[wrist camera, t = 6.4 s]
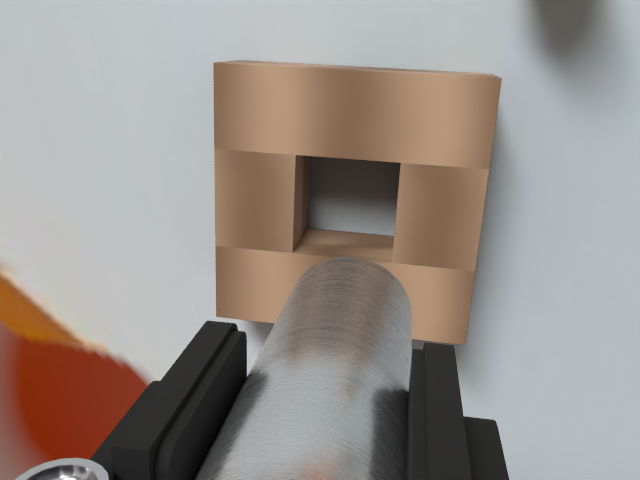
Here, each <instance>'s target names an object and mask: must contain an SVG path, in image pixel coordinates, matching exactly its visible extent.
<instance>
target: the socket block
mask: <svg viewBox="0 0 640 480" xmlns="http://www.w3.org/2000/svg"><path fill="white" fill-rule="evenodd" d="M501 80H502V78H499V77H497V76H494V75H492V74H484V73H465V72H446V71H428V70H409V69H391V68H372V67H353V66H335V65H316V64H298V63H279V62H261V61H242V60H239V61H228V62H217V63H214V145H215V236H216V317H223V318H232V319H241V320H250V321H258V322H267V323H275V322H276V320H277V318H278V316H279V314H280V312H281V310H282V308H283V306H284V304H285V302H286V301H287V299H288V297H289V295H290V293H291V291H292V289H293V287H294V285H295V284H296V282H297V280H298V279H299V278H300V277H301V275H302V274H304V273H305V272H306V271H307V270H308V269H309V268H311V267H312V266H314V265H315V264H317V263H319V262H322V261H324V260H327V259H331V258H335V257H343V256H346V257H358V258H363V259H367V260H370V261H372V262H375V263H377V264H379V265H380V266H382V267H384V268H385V269H387V270H388V271H389V272H391V273H392V274H393V275H394V276H395V277H396V278H397V279H398V281H399V282H400V283H401V284H402V286H403V288H404V289H405V291H406V293H407V295H408V298H409V301H410V304H411V310H412V339H416V340H425V341H434V342H442V343H451V344H460V345H465V341H466V333H467V326H468V319H469V312H470V304H471V297H472V290H473V283H474V276H475V268H476V261H477V254H478V247H479V239H480V232H481V225H482V218H483V211H484V203H485V196H486V189H487V182H488V174H489V167H490V160H491V153H492V145H493V138H494V131H495V124H496V117H497V109H498V102H499V95H500V88H501ZM311 156H317V157H330V158H343V159H357V160H370V161H383V162H397V163H401V166H400V177H399V188H398V200H397V211H396V222H395V233H394V236H387V235H376V234H365V233H354V232H343V231H332V230H321V229H310V228H308V206H309V181H310V157H311Z"/></svg>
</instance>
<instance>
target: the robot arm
mask: <svg viewBox="0 0 640 480" xmlns="http://www.w3.org/2000/svg"><path fill="white" fill-rule="evenodd" d="M246 378H247V339H246V333H245V332H242V331H238V329H237V325H236V324H235V323H225V322H215V321H207V322H205V324H204V325H203V326H202V328H201V329H200V330H199V332H198V333H197V334H196V335H195V337H194V338H193V339H192V341H191V342H190V343H189V345H188V346H187V347H186V348H185V350H184V351H183V352H182V354H181V355H180V356H179V358H178V359H177V360H176V361H175V363H174V364H173V365H172V367H171V368H170V369H169V371H168V372H167V373H166V374H165V376H164V377H163V378H162V380H161V381H153V382H152V383H151V384H150V385H148V387H147V388H146V389H145V390H144V392H143V393H142V394H141V396H140V397H139V398H138V399H137V401H136V402H135V403H134V404H133V405H132V407H131V408H130V409H129V411H128V412H127V413H126V415H125V416H124V417H123V418H122V419H121V421H120V422H119V423H118V424H117V426H116V427H115V428H114V430H113V431H112V432H111V433H110V435H109V436H108V437H107V438H106V440H105V441H104V442H103V443H102V445H101V446H100V447H99V448H98V450H97V451H96V452H95V453H94V455H93V456H92V457H91V458H90V460H86V459H80V458H67V459H59V460H55V461H50V462H46V463H44V464H41V465H39V466H37V467H34V468H32V469H30V470H28V471H27V472H25V473H24V474H22V475H20V476H19V477H17V478H16V479H15V480H195V478H196V476H197V474H198V472H199V470H200V468H201V466H202V464H203V462H204V460H205V458H206V456H207V454H208V452H209V450H210V449H211V447H212V445H213V443H214V441H215V439H216V437H217V435H218V433H219V431H220V429H221V427H222V425H223V423H224V421H225V419H226V417H227V415H228V413H229V412H230V410H231V408H232V406H233V404H234V402H235V400H236V398H237V396H238V394H239V392H240V390H241V388H242V386H243V384H244V382H245V380H246ZM407 480H509V477H508V472H507V468H506V463H505V459H504V454H503V450H502V445H501V440H500V436H499V431H498V427H497V424H496V421H494V420H489V419H481V418H472V417H464V416H463V410H462V402H461V395H460V387H459V380H458V372H457V365H456V357H455V349H454V346H452V345H442V344H433V343H424V348H423V350H417V349H413V350H412V359H411V369H410V380H409V391H408V439H407Z"/></svg>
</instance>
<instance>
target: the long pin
mask: <svg viewBox="0 0 640 480" xmlns="http://www.w3.org/2000/svg"><path fill="white" fill-rule="evenodd" d="M411 359H412V310H411V304H410V301H409V298H408V295H407V293H406V291H405V289H404V288H403V286H402V284H401V283H400V282H399V281H398V279H397V278H396V277H395V276H394V275H393V274H392V273H391V272H389V271H388V270H387V269H385V268H384V267H382V266H380V265H379V264H377V263H375V262H372V261H370V260H367V259H363V258H358V257H346V256H343V257H335V258H331V259H327V260H324V261H322V262H319V263H317V264H315V265H314V266H312V267H311V268H309V269H308V270H307V271H306V272H305V273H304V274H302V275H301V277H300V278H299V279H298V280H297V282H296V284H295V285H294V287H293V289H292V291H291V293H290V295H289V297H288V299H287V301H286V302H285V304H284V306H283V308H282V310H281V312H280V314H279V316H278V318H277V320H276V322H275V324H274V326H273V328H272V330H271V332H270V334H269V336H268V338H267V339H266V341H265V343H264V345H263V347H262V349H261V351H260V353H259V355H258V357H257V359H256V361H255V363H254V365H253V367H252V369H251V371H250V373H249V375H248V376H247V378H246V380H245V382H244V384H243V386H242V388H241V390H240V392H239V394H238V396H237V398H236V400H235V402H234V404H233V406H232V408H231V410H230V412H229V413H228V415H227V417H226V419H225V421H224V423H223V425H222V427H221V429H220V431H219V433H218V435H217V437H216V439H215V441H214V443H213V445H212V447H211V449H210V450H209V452H208V454H207V456H206V458H205V460H204V462H203V464H202V466H201V468H200V470H199V472H198V474H197V476H196V478H195V480H407V439H408V391H409V380H410V369H411Z"/></svg>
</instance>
